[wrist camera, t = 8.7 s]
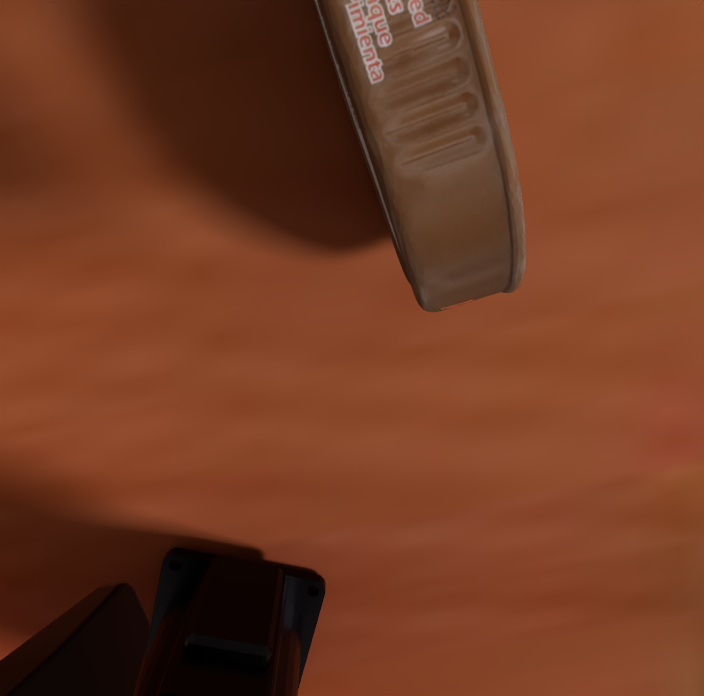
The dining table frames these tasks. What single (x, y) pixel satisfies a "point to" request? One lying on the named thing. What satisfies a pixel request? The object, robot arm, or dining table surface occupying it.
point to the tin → (432, 141)
